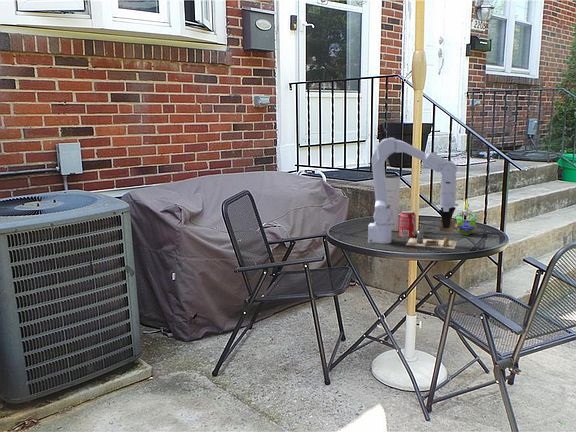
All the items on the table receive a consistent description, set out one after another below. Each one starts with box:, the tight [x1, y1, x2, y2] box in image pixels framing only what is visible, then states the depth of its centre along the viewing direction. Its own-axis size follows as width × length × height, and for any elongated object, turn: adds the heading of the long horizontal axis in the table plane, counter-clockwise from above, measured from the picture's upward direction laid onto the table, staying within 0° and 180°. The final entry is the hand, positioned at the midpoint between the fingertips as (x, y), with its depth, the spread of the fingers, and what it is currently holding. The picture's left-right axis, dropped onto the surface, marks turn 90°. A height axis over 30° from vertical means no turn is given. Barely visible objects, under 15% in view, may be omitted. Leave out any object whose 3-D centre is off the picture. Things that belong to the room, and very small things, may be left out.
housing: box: [439, 217, 455, 233], centre depth 206 cm, size 5×5×5 cm
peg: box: [416, 229, 424, 244], centre depth 213 cm, size 2×2×5 cm
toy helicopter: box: [454, 198, 478, 236], centre depth 229 cm, size 25×9×15 cm, turn 162°
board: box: [405, 237, 458, 250], centre depth 212 cm, size 19×14×4 cm
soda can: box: [398, 209, 417, 238], centre depth 226 cm, size 7×7×12 cm
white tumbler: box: [385, 175, 401, 232], centre depth 239 cm, size 11×10×26 cm
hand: (446, 226), depth 206 cm, fingers closed on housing, 5 cm apart
